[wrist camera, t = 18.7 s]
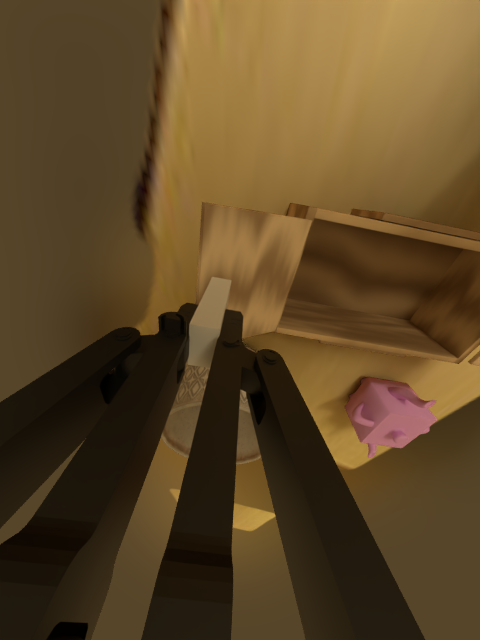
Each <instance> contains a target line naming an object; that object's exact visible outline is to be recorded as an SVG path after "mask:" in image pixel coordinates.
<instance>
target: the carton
mask: <svg viewBox="0 0 480 640" xmlns="http://www.w3.org/2000/svg"><path fill="white" fill-rule="evenodd" d="M354 215H355V216H354ZM287 216H290V217H296V218H302V219H308V220H312V223H311V226H310V228H309V231H308V234H307V237H306V240H305V243H304V246H303V249H302V252H301V255H300V258H299V261H298V264H297V267H296V270H295V273H294V276H293V279H292V282H291V285H290V288H289V291H288V294H287V297H286V300H285V303H284V306H283V309H282V312H281V315H280V318H279V321H278V324H277V327H276V330H275V331H272V332H276V333H282V334H288V335H294V336H300V337H305V338H311V339H317V340H319V342H320V343H324V344H330V345H336V346H342V347H348V348H354V349H359V350H365V351H371V352H377V353H383V354H389V355H395V356H400V357H405V356H406V355H410V356H416V357H422V358H428V359H433V360H439V361H445V362H451V363H457V364H459V363H460V362H461V361H463V360H464V359H465V358H466V357H467V356H468V355H469V354H470V353H471V352H472V351H473V350H474V349H475V348H476V347H478V346H479V345H480V242H478V241H480V233H479V232H474V231H469V230H464V229H460V228H455V227H450V226H445V225H441V224H436V223H431V222H426V221H422V220H417V219H412V218H407V217H403V216H398V215H393V214H389V213H383V212H374V211H366V210H358V209H352V211H351V215H349V214H344V213H339V212H334V211H330V210H325V209H320V208H315V207H310V206H305V205H299V204H293V203H290V206H289V210H288V214H287ZM358 216H360V217H358ZM363 217H365V218H363ZM368 218H370V219H368ZM373 219H375V220H373ZM378 220H379V221H378ZM382 221H384V222H382ZM387 222H389V223H387ZM392 223H394V224H392ZM397 224H399V225H397ZM402 225H403V226H402ZM406 226H408V227H406ZM411 227H413V228H411ZM416 228H418V229H416ZM421 229H423V230H421ZM426 230H427V231H426ZM430 231H432V232H430ZM435 232H437V233H435ZM440 233H442V234H440ZM445 234H447V235H445ZM450 235H452V236H450ZM454 236H457V237H454ZM459 237H462V238H459ZM464 238H468V239H464ZM469 239H473V240H469ZM474 240H478V241H474Z"/></svg>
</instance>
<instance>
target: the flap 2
mask: <svg viewBox="0 0 480 640" xmlns="http://www.w3.org/2000/svg"><path fill="white" fill-rule="evenodd" d="M468 362H469V363H470V364H472V365H476V366H480V351H479V352H478V353H477V354H476V355H475V356H474V357H473V358H472V359H470V360H469V361H468Z"/></svg>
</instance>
